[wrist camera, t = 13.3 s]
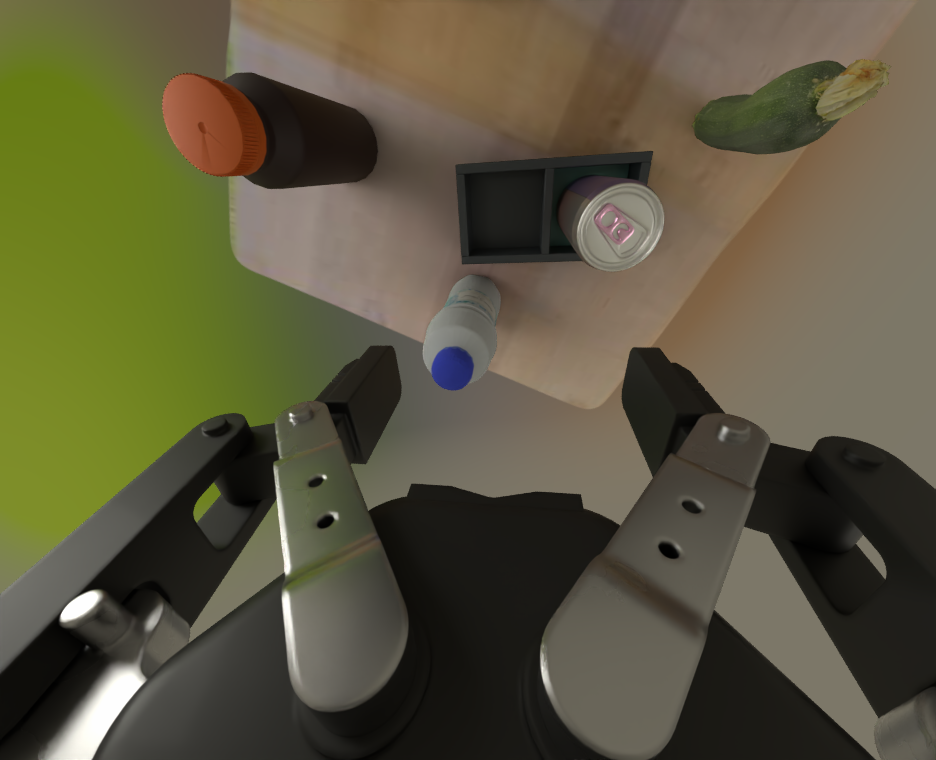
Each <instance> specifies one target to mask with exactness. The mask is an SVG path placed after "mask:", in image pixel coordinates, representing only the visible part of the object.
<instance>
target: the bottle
mask: <svg viewBox="0 0 936 760" xmlns="http://www.w3.org/2000/svg"><path fill="white" fill-rule="evenodd" d="M500 305H501V298H500V293H499V291H498V289H497V287H496V286H495V285H494V283H493V282H492V281H491V279H489V278H488V277H483V276H477V275H467V276H466V277H464V278H462V279H461V280H459V281H458V282H457V283H456V284H455V285H454V286H453V288H452V290H451V292H450V294H449V297H448V300H447V302H446V304H445V306H444V308H443V309H442V310H440V311H439V312H438V313H437V314H436V315H435V317H434V318H433V319H432V321H431V322H430V324H429V326H428V328H427V331H426V338H425V342H424V346H423V358H424V362H425V365H426V367H427V368H428V370H429V371H430V372H431V373H432V377H433V379H434V381H435V382H436V383H437V384H438V385H439V386H441V387H442V388H444V389H448V390H459V389H462V388H463V387H464V386H466V385H467V384H470V383H473V382H475V381H476V380H478V379H479V378H480V377H482V376H483V375H484V373H485V372H486V370H487V369H488V366H489V364H490V362H491V360H492V358H493V356H494V354H495V351H496V347H497V333H496V329H495V325H496V319H497V316H498V314H499V310H500Z"/></svg>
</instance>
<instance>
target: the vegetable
mask: <svg viewBox="0 0 936 760" xmlns="http://www.w3.org/2000/svg"><path fill="white" fill-rule="evenodd" d="M890 67H891V66H890V65H889V66H887V65H886V64H885V63H882V62H880V61H878V60H877V61H871V60H865V59H861V60H856V61H855V62H854V63H852V64H851V65H849V66H848V67H847V68H845V67H844V66H842V65H841V64H839V63H838V62H834V61H820V62H816V63H812V64H808V65H805V66H802V67H799V68H796V69H793V70H791V71H788V72H786V73H785V74H783V75H781V76H780V77H778V78H776V79H775V80H773V81H772V82H770V83H768V84H767V85H765V86H764V87H762V88H761V89H759V90H758V91H757V92H755V93H754V94H753V95H736V96H727V97H721V98H719V99H717V100H712V101H710V102H709V103H708V104H707V105H706V106H705V107H703V109H702V111H700V112H699V113H698V114H697V115H696V116H695V119H696V120H695V121H694V123H693V124H692V126H693V128H694V132H695V136H696V138H697V139H699V140H701V141H702V142H703V143H705V144H707V145H708V146H711V147H714V148H717V149H721V150H730V151H738V152H746V153H752V154H773V153H781V152H786V151H791V150H794V149H797V148H800V147H803V146H806V145H808V144H810V143H811V142H814V141H815V140H817V139H819V138H820V137H821V136H823V135H824V134H825V133H826V132H827V131H829V130H830V129H831V127H833V126H834V125H835V124H836V123H837V121H838V120H839V119H840V118H842V117H843V116H845V115H847V114H849V113H851V112H853V111H854V110H856V109H857V108H859V107H860V106H861V105H864V104H865V103H866V101H867V100H869V99H870V98H872V97H875V96H876V95H877V90H878V89H879V88H880V87H884V86H886V85H888V84H889V81H888V74H889V73H887V71H888V69H889V68H890Z"/></svg>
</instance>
